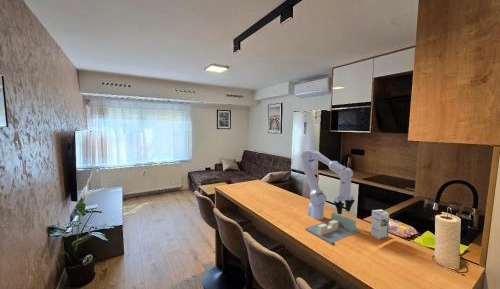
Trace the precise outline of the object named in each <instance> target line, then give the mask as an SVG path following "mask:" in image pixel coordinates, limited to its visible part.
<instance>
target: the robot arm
mask: <svg viewBox="0 0 500 289" xmlns="http://www.w3.org/2000/svg"><path fill="white" fill-rule="evenodd" d="M300 158H301V166H302V170H303V172H304V174H305V178H306V181H307V182H308V186H309V189H310V193H309V197H310V202H309V204H308V206H307V216H309V217H311V218H312V219H314V220H324V218H325V217H324V216H325V203H326V202H327V196H326V194H325V193H324V191H323V190H322V189H321V188H320V187H319V186H320V185H319V183H318V180H317V178H316V175H315V172H314V170H313V167H312V164H313V162H314V161H315V160H317V161H319V162H321V163H323V164H325V165H326V166H328V169H329V170H330V171H332V172H333V173H335V174H337V175H338V177H339V180H340V181H339V194H338V196H337V197H336V198H334V200H333V203H334V205H335V209H336V213H338V214H340V215H343V208H345V211H346V212H348V213H350V211H351V208H352V207H353V205H354V203H355V199H354V198H355V196H354V195H353V194H351V189H352V177H353V176H354V171H353V169H351V168H350V167H346V166H345V165H342V164H341V163H339V161H337V160H331V159H329V158H328V157H326V156H325V155H324V154H322V153H321V152H320V151H319V150H316V149H305V150H303V151H302V152H301V155H300ZM343 202H344V203H343ZM344 205H345V207H344Z"/></svg>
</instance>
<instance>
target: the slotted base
mask: <svg viewBox="0 0 500 289" xmlns="http://www.w3.org/2000/svg"><path fill="white" fill-rule="evenodd" d="M304 229H305V231H307V232H308V233H310V234H311V235H313V236H316V237H317V238H320V239H321V240H322V241H324V242H326V243H328V244H330V245H335V244H336V242H337V241H340V240H342V239H343V240H344V239H345V238H348V237H350V236H353V235H355V234H357V233H361V232H362V231H363V230H362V229H361V228H359V227H356V229H355V231H353V232H352V231H349V230H347V229H345V228H344V223H342V224H341V225H338V221H336V220H333V221H331V219H330V220H326V221H323V222H320V223H318V224H314V225H310V226H307V227H305V228H304Z"/></svg>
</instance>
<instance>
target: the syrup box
mask: <svg viewBox="0 0 500 289" xmlns="http://www.w3.org/2000/svg"><path fill="white" fill-rule="evenodd" d="M389 221H390V213H389V212H388V211H387V210H383V209H373V210H371V223H370V224H371V227H370V235H371V236H373V237H375V238H376V239H378V240H383V239H388V237H389V223H390V222H389Z"/></svg>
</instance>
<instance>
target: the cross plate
mask: <svg viewBox="0 0 500 289" xmlns="http://www.w3.org/2000/svg"><path fill="white" fill-rule="evenodd" d="M330 215H331V216H330V220H331V221H333V220H336V221H338V225H341V224H342V223H344V228H345V229H347V230H349V231H352V232H353V231H355V229H356V228H357V220H355V219H352V218H350V217H347V216H345V215H343V214H338V213H337V212H331V214H330Z"/></svg>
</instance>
